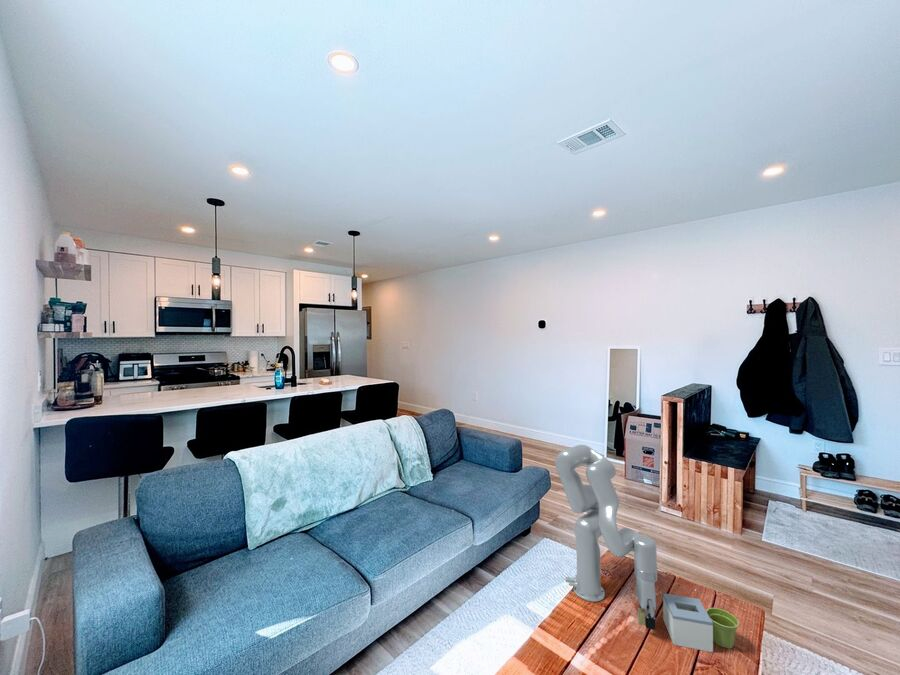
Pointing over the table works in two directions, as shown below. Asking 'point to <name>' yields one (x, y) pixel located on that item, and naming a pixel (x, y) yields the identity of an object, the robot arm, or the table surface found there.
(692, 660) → the table surface
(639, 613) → the block
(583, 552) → the robot arm
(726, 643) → the plant pot
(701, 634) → the grey slotted box
